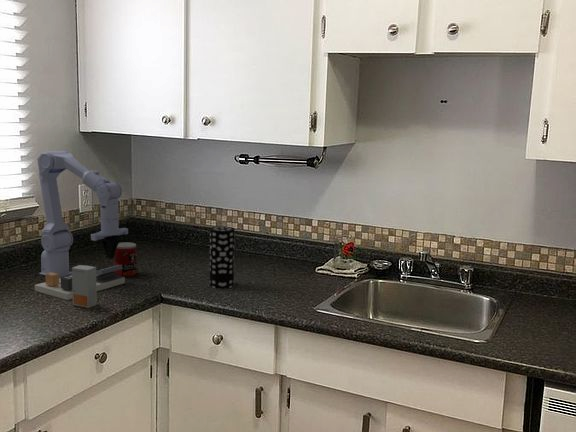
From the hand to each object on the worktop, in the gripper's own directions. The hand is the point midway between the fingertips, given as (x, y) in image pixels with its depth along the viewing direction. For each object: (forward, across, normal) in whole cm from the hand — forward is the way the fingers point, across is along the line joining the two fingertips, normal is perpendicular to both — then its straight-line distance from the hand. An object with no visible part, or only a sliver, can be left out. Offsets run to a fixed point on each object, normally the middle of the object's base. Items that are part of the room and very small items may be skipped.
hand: (110, 258), depth 209 cm
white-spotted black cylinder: (+10, +22, -30) cm, 39 cm away
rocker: (+5, 0, +2) cm, 6 cm away
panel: (+9, -8, +6) cm, 13 cm away
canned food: (+10, +12, +6) cm, 17 cm away
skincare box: (+10, -20, -10) cm, 24 cm away
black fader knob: (+7, -16, +2) cm, 18 cm away
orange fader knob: (+7, -16, +9) cm, 20 cm away
